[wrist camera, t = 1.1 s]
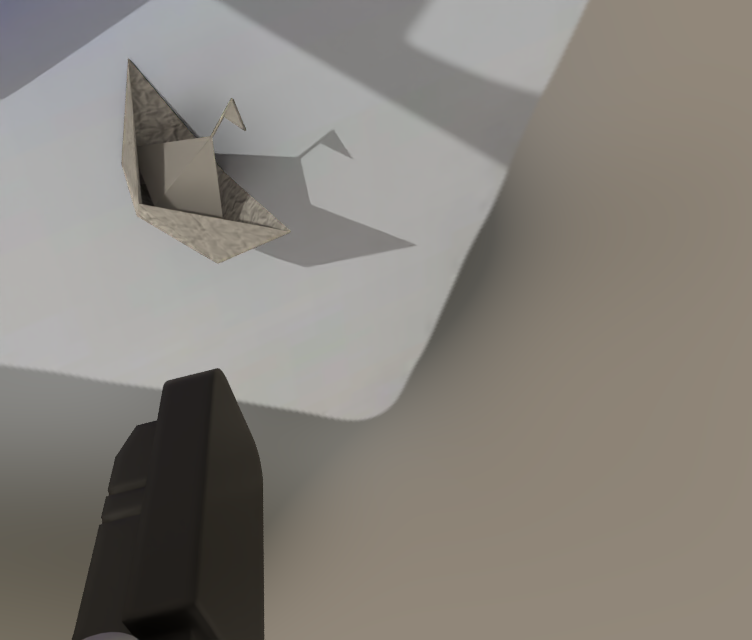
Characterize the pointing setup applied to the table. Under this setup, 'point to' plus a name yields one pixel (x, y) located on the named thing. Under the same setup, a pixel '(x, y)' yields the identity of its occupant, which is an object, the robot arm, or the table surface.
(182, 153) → the paper boat
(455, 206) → the table surface
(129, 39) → the table surface
